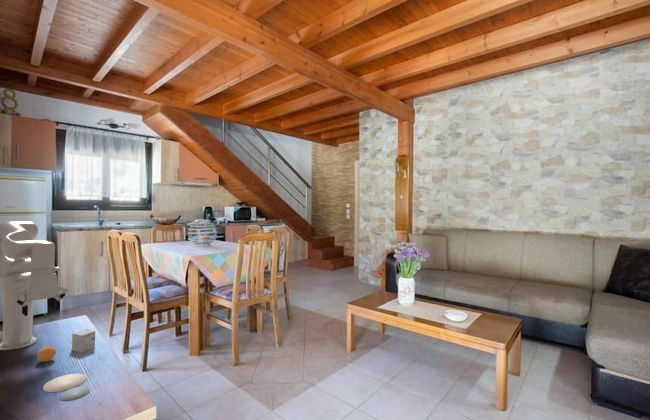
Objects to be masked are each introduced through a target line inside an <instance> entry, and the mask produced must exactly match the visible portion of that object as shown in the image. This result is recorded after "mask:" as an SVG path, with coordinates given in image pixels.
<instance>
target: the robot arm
mask: <svg viewBox="0 0 650 420" xmlns="http://www.w3.org/2000/svg"><path fill="white" fill-rule="evenodd" d="M38 233H39V228H38V226H37V224H36V223H35V222H33V221H29V220H28V221H25V220H22V221H21V220H20V221H18V220H15V221H10V220H9V221H3V222H0V279H1V291H2V299H3V322H2V342H0V351H11V350H13V351H14V350H18V349H23V348H26V347H29V346H31V345H34V344H35V343H36V342H37V340H38V339H37V337H35V336H33V327H34V326H33V321H34V302H33V301H39V300H46V299H51V298H54V299H55V300H54V301H53V310H54V311H58V310H59V308H61V307H60V306H61V301H62V299H63V298H65V296H66V294H67V293H68V292H69V289H68V288H66V287H61V286H60V285H59V283H58V277H57V273H56V271H59V269H60V268H59V267H58V266H57V267H56V266H55V259H56V244H55V243H54V242H52V241H49V240H47V239H46V240H45V239H37V240H35V238H36V237H37V236H38ZM59 291H61V293H60V294H59Z"/></svg>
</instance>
